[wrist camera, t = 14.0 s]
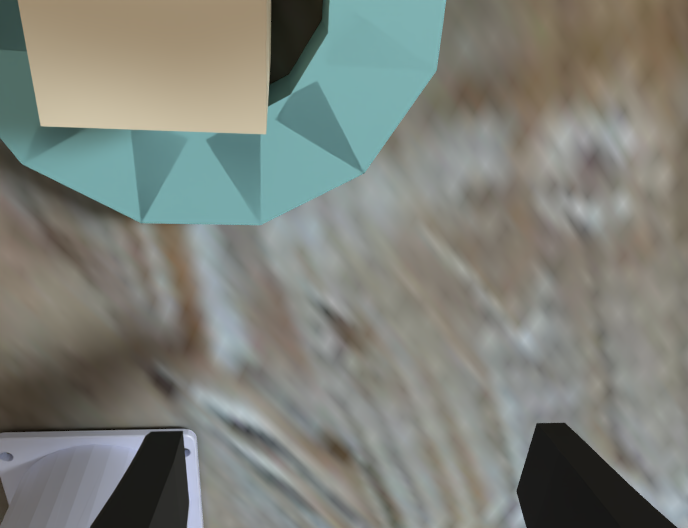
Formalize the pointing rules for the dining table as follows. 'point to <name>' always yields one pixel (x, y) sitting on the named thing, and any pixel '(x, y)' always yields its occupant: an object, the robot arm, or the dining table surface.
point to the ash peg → (150, 63)
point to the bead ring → (236, 148)
